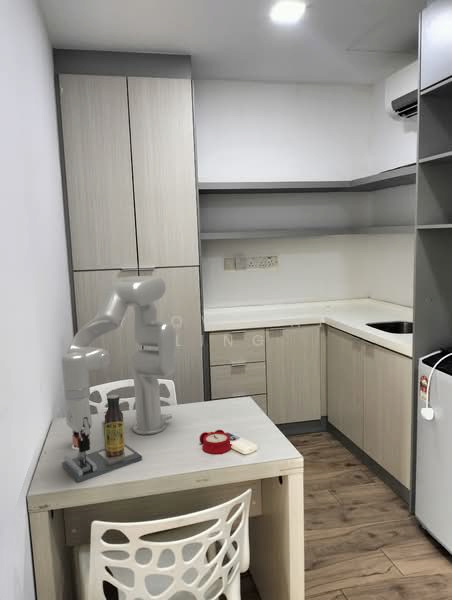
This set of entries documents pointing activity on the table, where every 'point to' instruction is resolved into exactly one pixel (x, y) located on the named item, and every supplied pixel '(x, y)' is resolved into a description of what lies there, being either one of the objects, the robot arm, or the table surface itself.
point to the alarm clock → (215, 442)
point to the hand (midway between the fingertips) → (81, 447)
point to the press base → (100, 461)
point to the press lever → (81, 454)
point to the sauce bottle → (114, 427)
